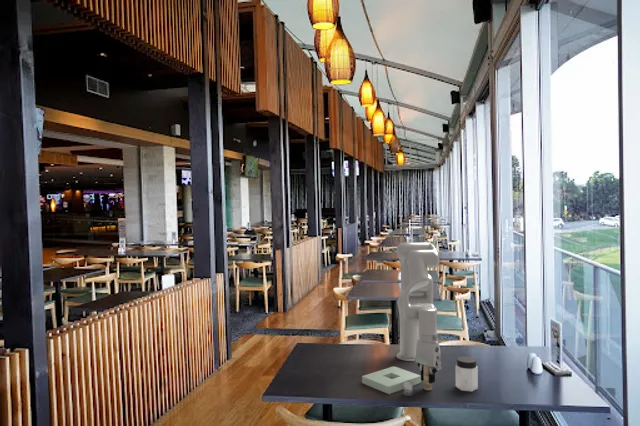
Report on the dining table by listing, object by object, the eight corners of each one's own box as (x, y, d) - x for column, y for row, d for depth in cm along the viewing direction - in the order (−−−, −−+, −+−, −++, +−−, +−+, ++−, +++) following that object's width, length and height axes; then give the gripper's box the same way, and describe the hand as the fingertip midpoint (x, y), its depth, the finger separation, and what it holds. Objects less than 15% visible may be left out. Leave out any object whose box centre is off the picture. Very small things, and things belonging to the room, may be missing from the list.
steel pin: (407, 391, 199) (407, 379, 198) (414, 394, 196) (414, 382, 196) (402, 394, 196) (401, 381, 196) (408, 396, 194) (408, 384, 194)
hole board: (393, 372, 221) (393, 366, 221) (421, 382, 209) (421, 375, 209) (362, 383, 209) (362, 376, 209) (389, 394, 196) (388, 386, 196)
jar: (455, 390, 200) (455, 361, 200) (455, 383, 207) (455, 355, 207) (478, 392, 197) (477, 363, 197) (477, 385, 205) (477, 357, 205)
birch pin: (427, 386, 203) (427, 358, 203) (433, 388, 201) (433, 360, 200) (421, 388, 201) (421, 359, 201) (428, 390, 199) (428, 362, 198)
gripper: (449, 340, 196) (449, 384, 197) (418, 331, 209) (418, 373, 210) (437, 343, 192) (438, 389, 192) (406, 335, 205) (406, 377, 205)
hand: (427, 380), depth 201 cm, fingers closed on birch pin, 3 cm apart
